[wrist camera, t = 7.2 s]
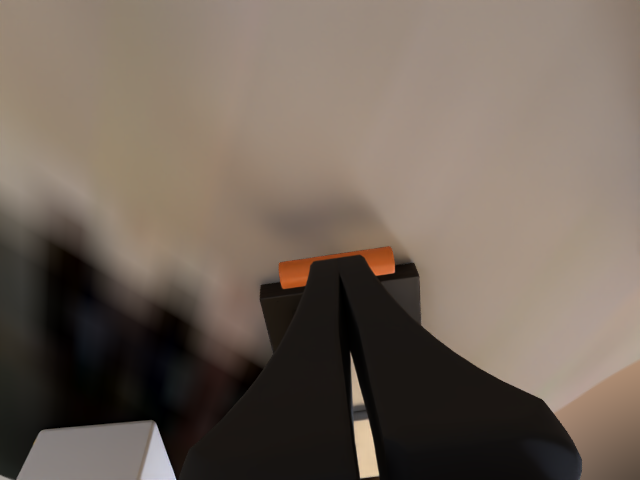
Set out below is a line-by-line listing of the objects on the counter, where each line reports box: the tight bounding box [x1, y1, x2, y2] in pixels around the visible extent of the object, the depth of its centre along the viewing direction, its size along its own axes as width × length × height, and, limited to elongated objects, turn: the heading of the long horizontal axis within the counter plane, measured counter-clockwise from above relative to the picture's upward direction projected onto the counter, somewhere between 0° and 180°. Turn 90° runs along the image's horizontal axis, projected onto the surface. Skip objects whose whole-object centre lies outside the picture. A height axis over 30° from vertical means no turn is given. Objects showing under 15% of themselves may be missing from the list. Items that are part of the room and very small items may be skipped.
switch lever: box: [279, 246, 395, 478], centre depth 23 cm, size 10×5×2 cm, turn 7°
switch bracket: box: [260, 263, 421, 354], centre depth 25 cm, size 10×8×8 cm
